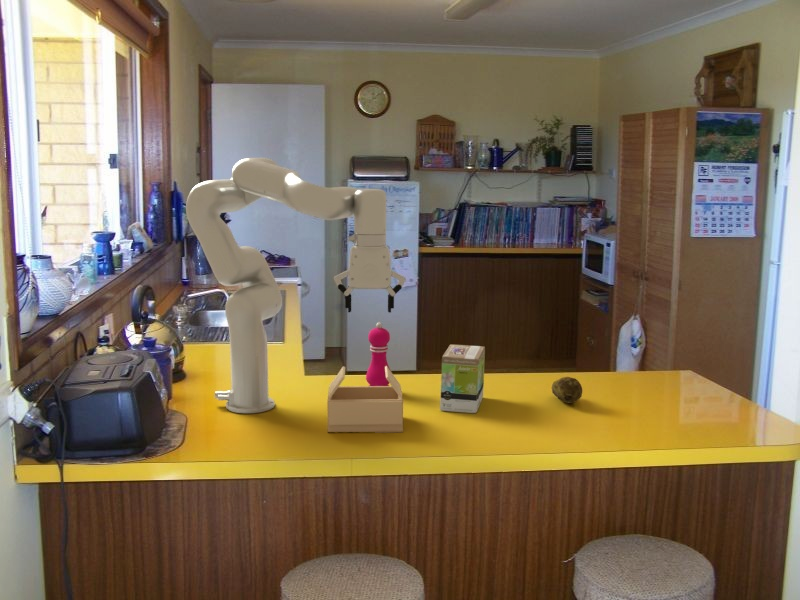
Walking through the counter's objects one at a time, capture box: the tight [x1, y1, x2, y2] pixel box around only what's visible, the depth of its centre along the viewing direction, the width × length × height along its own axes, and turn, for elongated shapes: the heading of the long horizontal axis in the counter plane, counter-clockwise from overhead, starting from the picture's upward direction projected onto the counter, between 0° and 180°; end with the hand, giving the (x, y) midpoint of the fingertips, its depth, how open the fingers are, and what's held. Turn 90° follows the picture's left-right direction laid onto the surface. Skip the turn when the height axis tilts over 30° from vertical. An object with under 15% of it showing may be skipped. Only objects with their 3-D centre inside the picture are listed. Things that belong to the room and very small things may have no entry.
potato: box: [551, 376, 583, 404], centre depth 226 cm, size 8×13×8 cm, turn 167°
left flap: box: [327, 366, 346, 398], centre depth 206 cm, size 1×10×6 cm
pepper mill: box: [365, 321, 392, 386], centre depth 233 cm, size 7×7×20 cm
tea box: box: [439, 344, 486, 414], centre depth 224 cm, size 15×10×15 cm, turn 168°
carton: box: [326, 385, 404, 433], centre depth 208 cm, size 18×13×8 cm
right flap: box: [385, 366, 403, 397], centre depth 207 cm, size 1×10×6 cm
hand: (369, 311), depth 204 cm, fingers open, 9 cm apart
